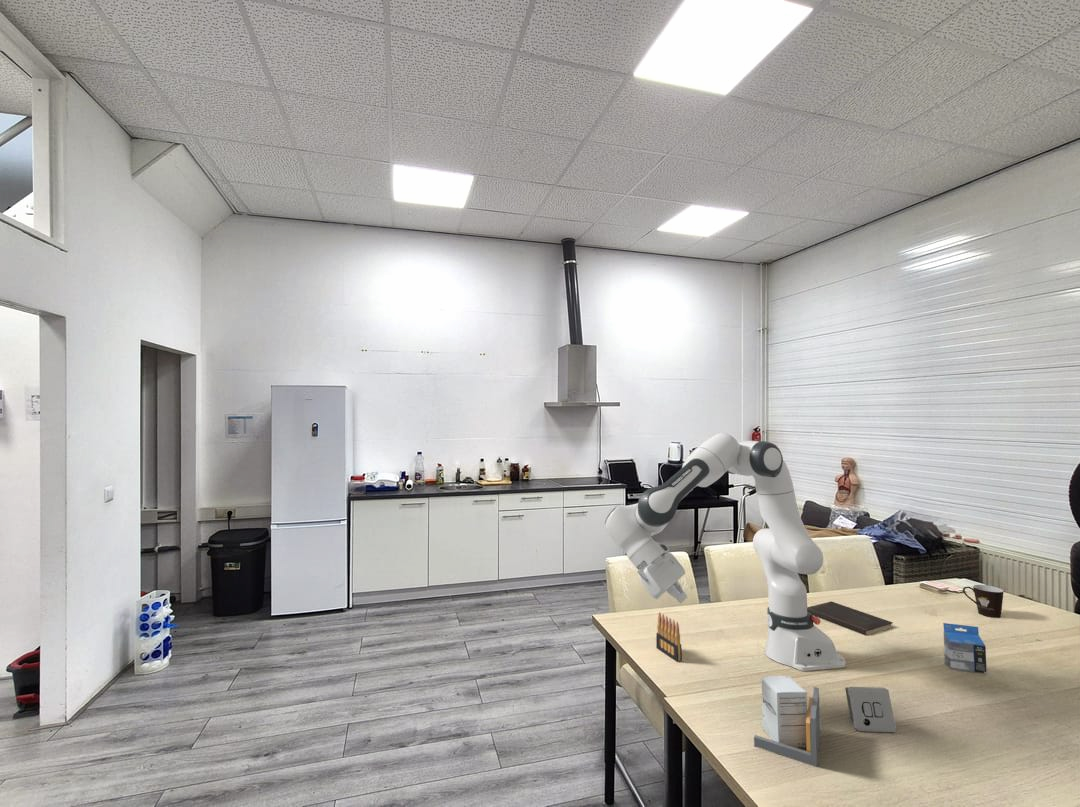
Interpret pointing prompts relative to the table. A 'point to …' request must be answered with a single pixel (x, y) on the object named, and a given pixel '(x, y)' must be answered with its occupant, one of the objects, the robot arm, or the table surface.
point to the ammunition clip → (668, 638)
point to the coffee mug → (987, 600)
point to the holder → (795, 752)
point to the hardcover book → (849, 618)
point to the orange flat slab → (808, 726)
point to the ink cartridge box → (964, 649)
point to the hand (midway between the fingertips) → (684, 600)
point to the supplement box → (784, 710)
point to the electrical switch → (870, 709)
